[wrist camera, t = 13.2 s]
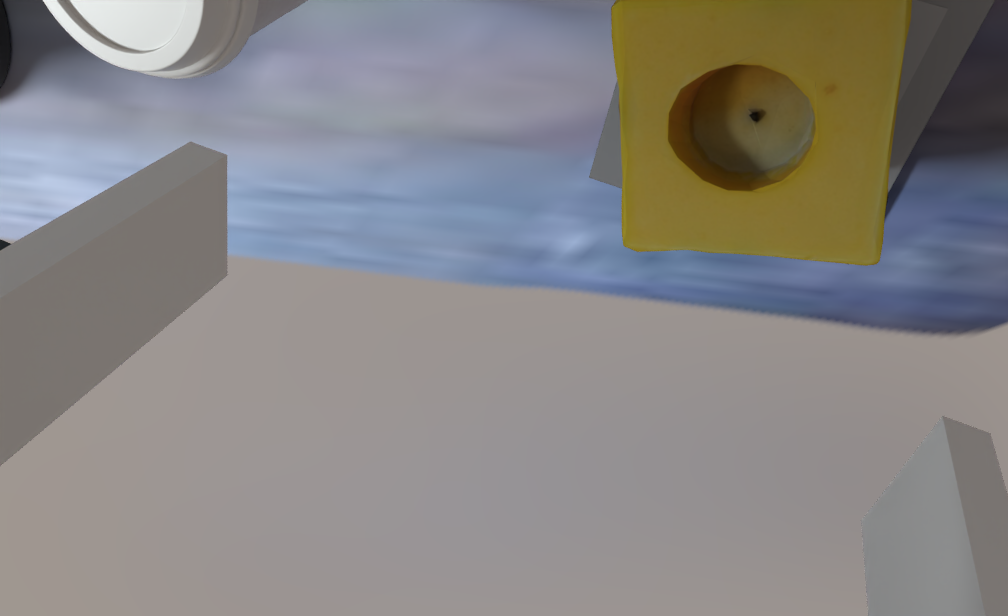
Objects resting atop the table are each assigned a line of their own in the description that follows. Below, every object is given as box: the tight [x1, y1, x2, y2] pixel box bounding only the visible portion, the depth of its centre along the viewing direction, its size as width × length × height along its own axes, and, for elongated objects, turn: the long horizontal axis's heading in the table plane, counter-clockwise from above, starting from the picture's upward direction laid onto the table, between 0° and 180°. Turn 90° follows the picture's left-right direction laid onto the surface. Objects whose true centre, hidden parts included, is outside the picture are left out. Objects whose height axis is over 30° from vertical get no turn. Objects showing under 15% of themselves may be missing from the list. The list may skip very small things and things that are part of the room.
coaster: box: [589, 0, 995, 265], centre depth 37 cm, size 14×14×1 cm
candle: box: [611, 0, 912, 265], centre depth 32 cm, size 10×10×10 cm
